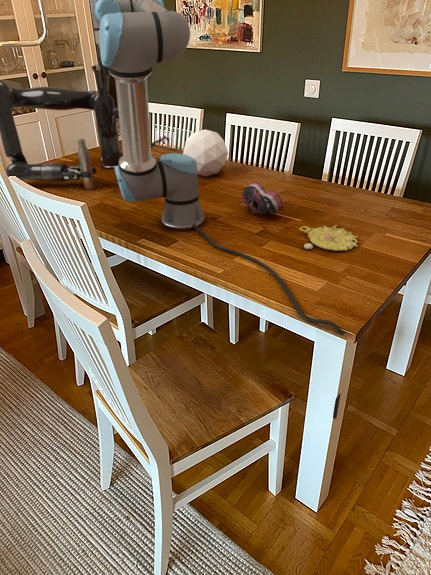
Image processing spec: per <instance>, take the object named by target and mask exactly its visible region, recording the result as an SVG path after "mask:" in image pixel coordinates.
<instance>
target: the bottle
mask: <svg viewBox="0 0 431 575" xmlns="http://www.w3.org/2000/svg"><path fill="white" fill-rule="evenodd" d="M77 144H78V149H77V156H78V164H79V165H80V168H81V172H91V175H92V177H91V178H81V180H82V184H83V188H84V190H88V191H89V190H94V189H96V180H95V174H93V169H92V168H93V164H92V159H91V158H92V157H91V153H90V150H89V149H88V147H87V145H86V140H85V139H84V138H79V139H77Z"/></svg>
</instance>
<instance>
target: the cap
mask: <svg viewBox="0 0 431 575" xmlns="http://www.w3.org/2000/svg"><path fill="white" fill-rule="evenodd" d="M111 112H112V116H116V117H119V112H118V107H115V108H113V109H111Z"/></svg>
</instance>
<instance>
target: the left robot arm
mask: <svg viewBox="0 0 431 575" xmlns="http://www.w3.org/2000/svg"><path fill="white" fill-rule="evenodd" d="M109 96H111V95H109ZM111 99H112V105H113V108H116V104H115V100H114V98H113V97H112V96H111ZM13 108H28V109H29V108H30V109H37V110H45V111H46V110H48V111H71V110H76V109H77V110H78V109H79V110H80V109H83V110H90V111H94V115H95V127H96V134H97V139H98V146H99V151H100V152H99V153H100V160H101V163H102V164H101V165H102V167H103V168H105V169H114V168H115V167H116V166H119V159H120V158H121V157H122V156H123V151H121V146H120V140H119V133H118V126H117V123H118V119H117V118H118V117H117V116H109V110H108V106H106V105H105V99H104V97H103V96H101V95H99V93H98V90H77V89H71V88H63V87H57V86H37V87H29V88H17V87H10V86H9V85H8V84H7V83H6V82H5V81H3V80H0V138H1V144H2V148H3V151H4V152H3V153H4V155H5V157H6V158H8V159H9V160H10V161H11V163H10V164H8V165H7V167H6V168H5V174H6V176H7V177H8V178H9V176H16V177H17V178H19V179H20V180H19V181H39V182H40V181H42V182H59V183H60V182H61V183H62V182H63V183H65V182H68V181H79V180H80V179H82V178H91V177H92V175H91V172H81V168H80V164H75V165H74V166H68V165H67V164H66V163H64V162H47V163H28V160H27V159H26V158H27V157H26V156H25V154H24V153H23V148H22V144H21V139H20V136H19V133H18V129H17V126H16V123H15V118H14V114H13ZM167 137H168V136H164V137H161V138H160V139H157V140H155V141H153V142H151V143H150V144H151V147H152V146H153V145H155V144H157V143H159V142H161V141H163V140H165V139H166V140H169V139H170V138H169V137H168V138H167ZM92 169H93V175H96V173H97V169H96V167H92Z"/></svg>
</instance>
